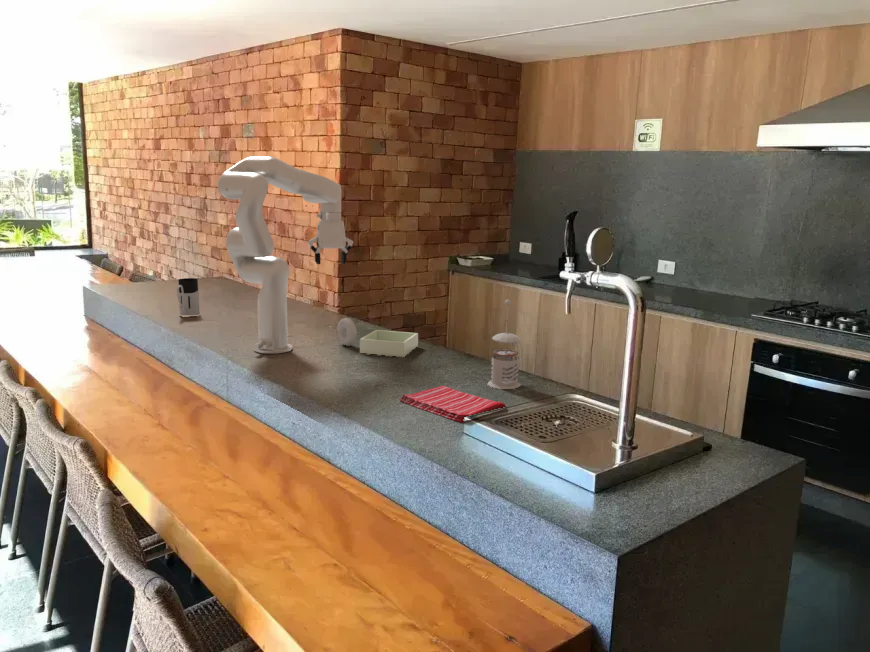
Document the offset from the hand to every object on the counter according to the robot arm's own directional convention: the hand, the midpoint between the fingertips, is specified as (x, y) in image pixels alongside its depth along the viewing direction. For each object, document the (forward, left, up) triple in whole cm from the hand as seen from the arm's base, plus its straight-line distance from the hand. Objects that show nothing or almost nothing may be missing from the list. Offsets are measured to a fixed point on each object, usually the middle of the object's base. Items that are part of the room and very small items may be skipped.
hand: (330, 263), depth 263 cm
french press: (-46, -75, -26) cm, 92 cm away
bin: (-19, -30, -26) cm, 44 cm away
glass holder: (+7, +67, -26) cm, 72 cm away
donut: (-18, -14, -26) cm, 35 cm away
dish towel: (-70, -65, -27) cm, 99 cm away
